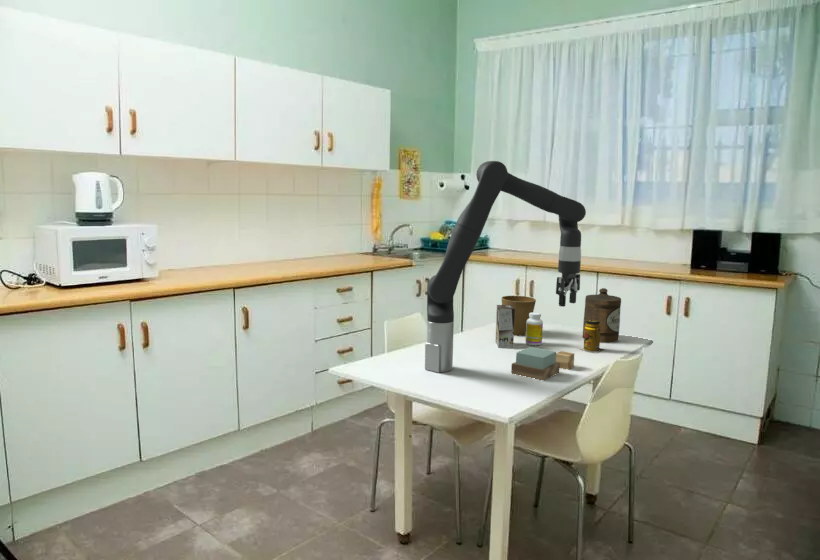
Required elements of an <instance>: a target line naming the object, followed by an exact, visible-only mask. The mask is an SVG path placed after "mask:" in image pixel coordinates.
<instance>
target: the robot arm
mask: <svg viewBox="0 0 820 560" xmlns="http://www.w3.org/2000/svg"><path fill="white" fill-rule="evenodd" d="M475 174H476V175H475V176H476V180H477V182H478V183H477V186H476V189H475V191H474V193H473V196H472V198H471V199H470V201H469V203H467V205H466V206H465V208H464V209H463V210H462V211H461V213H460V215H459V216H458V218H457V220H456V222H455V225H454V227H453V229H452V231H451V234H450V237H449V239H448V243H447V247H446V250H445V254H444V257H443V260H442V263H441V265H440V266H439V269H438V270H437V273H436V274H435V275H433V276H432V277H431V278H430V279H429V280H428V282H427V288H426V300H427V301H426V315H427V318H426V342H425V344H424V370H428V371H430V372H434V373H445V372H450V371H452V370H453V369H454V368H453V366H454V365H453V363H454V361H453V360H454V358H453V357H454V325H455V324H454V323H455V319H454V318H455V312H454V311H455V310H454V296H455V293H456V290H457V287H458V284H459V282H460V278H461V275H462V273H463V270H464V268H465V266H466V264H468V263H467V262H468V261H469V259H470V257H471V256H472V253H473V251H474V249H475V248H476V245H477V243H478V242H479V240H480V237H481V235H482V233H483V230H484V228H485V225H486V224H487V221H488V218H489V215H490V213H491V211H492V208H493V205H494V203H495V202H496V199H498V196H499V194H500V193H501V192H503V193H506V194H509V195H511V196H513V197H515V198H518V199H519V200H521V201H524V202H525V203H528V204H530V205H531V206H534V207H536V208H538V209H540V210H541V211H545V212H547V213H551V214H555V215H556V216H558V223H559V231H560V239H559V240H560V241H559V251H558V262H557V263H558V265H557V271H558V273H561V277H560V276H557V278H556V284H555V285H556V286H555V294H556V295H557V296H558V306H559V307H566V305H567V304H566V300H567V293H568V291H569V301H568V302H569V303H570V304H576V302H577V293H578V291H580V290H581V287H580V286H581V274H580V273H581V264H582V249H581V248H582V247H581V246H582V233H581V231H580V229H579V225H578V223H580V222H581V221H583V220H584V218H585V217H586V213H587V212H586V211H587V210H586V208H585V206H584V205H583V204H582V203H581V202H579V201H577V200H574V199H572V198H569V197H566V196H563V195H560V194H559V193H556V192H555V191H552V190H550V189H548V188H546V187H543V186H541V185H539V184H537V183H533V182H530V181H527V180H524V179H522V178H519V177H517V176H516V175H513V174H511V173H510V172H508V168H507V166H506V165H505V163H503V162H501V161H498V160H489V161H485V162H483V163H481V164H480V165H479V167H478V168H477V170H476V173H475Z"/></svg>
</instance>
